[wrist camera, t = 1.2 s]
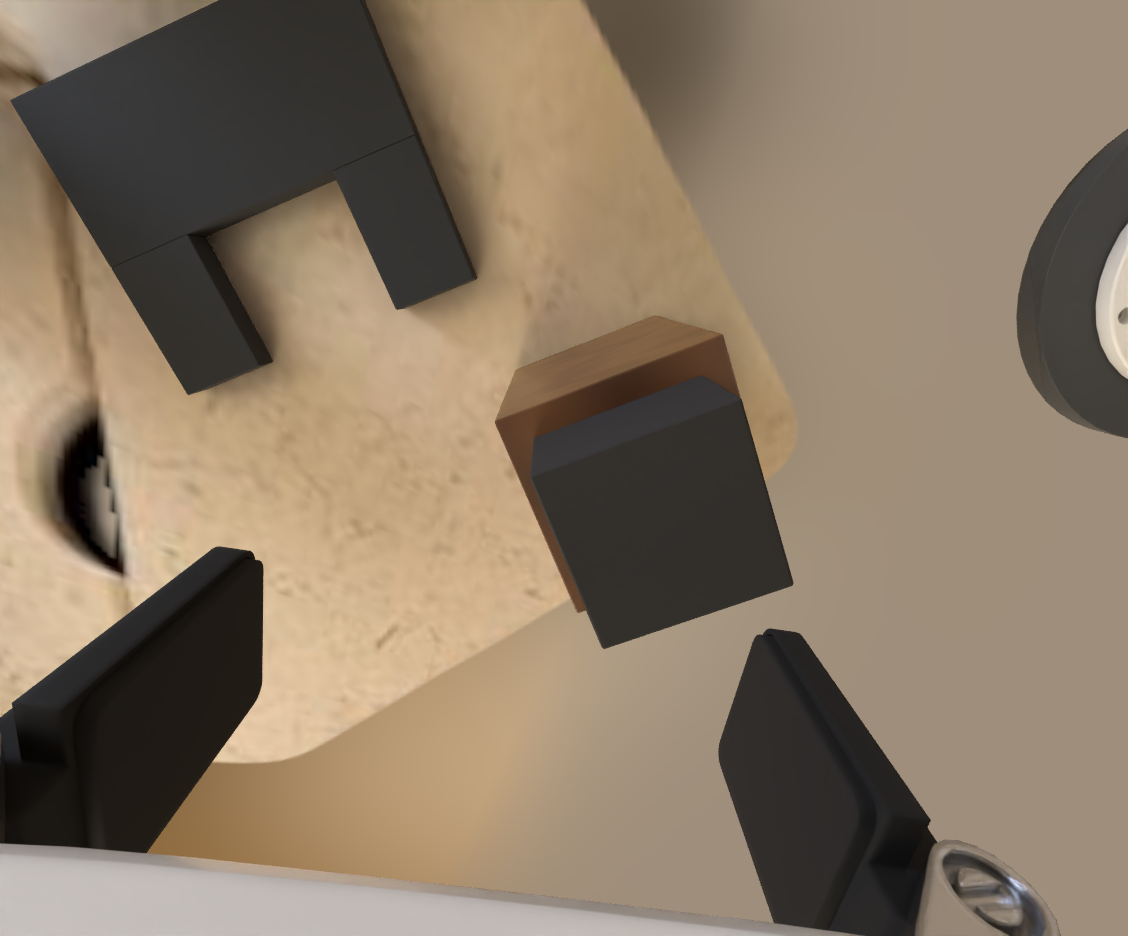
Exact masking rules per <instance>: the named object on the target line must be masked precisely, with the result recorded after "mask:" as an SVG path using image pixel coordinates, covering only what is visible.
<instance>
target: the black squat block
mask: <svg viewBox="0 0 1128 936" xmlns="http://www.w3.org/2000/svg"><path fill="white" fill-rule="evenodd" d="M530 480H531V482H532V484H533V487H534V489H535V491H536V494H537V496H538V498H539V501H540V503H541V506H542V508H543V510H544V513H545V515H546V517H547V520H548V522H549V524H550V527H551V529H552V531H553V534H554V536H555V538H556V541H557V543H558V545H559V548H560V550H561V553H562V555H563V557H564V560H565V562H566V564H567V567H568V569H569V571H570V574H571V576H572V578H573V581H574V583H575V585H576V588H577V590H578V593H579V595H580V597H581V600H582V602H583V604H584V607H585V609H586V611H587V614H588V616H589V618H590V621H591V623H592V625H593V628H594V630H595V632H596V635H597V637H598V640H599V642H600V644H601V646H602V648H603V649H605V648H609V647H611V646H615V645H618V644H621V643H624V642H627V641H629V640H632V639H635V638H638V637H641V636H644V635H647V634H650V633H653V632H656V631H659V630H662V629H665V628H668V627H671V626H674V625H677V624H680V623H683V622H686V621H689V620H692V619H695V618H698V617H701V616H704V615H707V614H710V613H713V612H716V611H719V610H722V609H725V608H728V607H731V606H733V605H736V604H739V603H742V602H745V601H748V600H751V599H754V598H757V597H760V596H763V595H766V594H769V593H772V592H775V591H778V590H781V589H784V588H787V587H790V586H792V585H793V579H792V576H791V572H790V569H789V565H788V562H787V558H786V555H785V551H784V548H783V544H782V541H781V537H780V534H779V530H778V527H777V523H776V520H775V516H774V512H773V509H772V505H771V502H770V498H769V495H768V491H767V488H766V484H765V480H764V477H763V473H762V470H761V466H760V463H759V459H758V456H757V452H756V448H755V445H754V441H753V438H752V434H751V431H750V427H749V424H748V420H747V417H746V413H745V410H744V406H743V402H742V399H741V398H740V397H738V396H736V395H734V394H733V393H731V392H729V391H728V390H726V389H724V388H723V387H721V386H719V385H717V384H716V383H714V382H712V381H711V380H709V379H707V378H706V377H704V376H698V377H695V378H692V379H690V380H687V381H684V382H682V383H679V384H676V385H674V386H671V387H668V388H666V389H663V390H660V391H658V392H655V393H652V394H650V395H647V396H644V397H642V398H639V399H637V400H634V401H631V402H629V403H626V404H623V405H621V406H618V407H615V408H613V409H610V410H607V411H605V412H602V413H599V414H597V415H594V416H591V417H589V418H586V419H583V420H581V421H578V422H575V423H573V424H570V425H568V426H565V427H562V428H560V429H557V430H554V431H552V432H549V433H546V434H544V435H541V436H538V437H536V438H534V441H533V451H532V460H531V470H530Z"/></svg>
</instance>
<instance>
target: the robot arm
mask: <svg viewBox="0 0 1128 936" xmlns="http://www.w3.org/2000/svg"><path fill="white" fill-rule="evenodd" d="M1096 327H1097V331H1098V335H1099V339H1100V344H1101V346H1102V348H1103V350H1104V352H1105V354H1106V356H1107V358H1108V360H1109V362H1110V363H1111V364H1112V365H1113V366H1114V367H1115V368H1116V370H1117V371H1118V372H1119V373H1120V374H1121V375H1122V376H1124V377H1125V378H1127V379H1128V223H1127V225H1126V226H1125V228H1124V229H1123V230H1122V232H1121V233H1120V235H1119V237H1118V239H1117V241H1116V242H1115V244H1114V246H1113V248H1112V250H1111V252H1110V254H1109V256H1108V258H1107V261H1106V264H1105V267H1104V270H1103V272H1102V275H1101V278H1100V281H1099V287H1098V293H1097V299H1096ZM262 655H263V564H262V562H261V561H259V560H255V557H254V554H253V553H252V552H251V551H247V550H240V549H233V548H227V547H215V548H213V549H212V550H210V551H209V552H208V553H207V554H205V555H204V556H203V557H201V558H200V559H199V560H197V561H196V562H195V563H193V564H192V565H191V566H190V567H188V568H187V569H186V570H184V571H183V572H182V573H180V574H179V575H178V576H177V577H175V578H174V579H173V580H171V581H170V582H169V583H167V584H166V585H165V586H164V587H162V588H161V589H160V590H158V591H157V592H156V593H154V594H153V595H152V596H151V597H149V598H148V599H147V600H145V601H144V602H143V603H141V604H140V605H139V606H138V607H136V608H135V609H134V610H132V611H131V612H130V613H128V614H127V615H126V616H125V617H123V618H122V619H121V620H119V621H118V622H117V623H115V624H114V625H113V626H112V627H110V628H109V629H108V630H106V631H105V632H104V633H102V634H101V635H100V636H98V637H97V638H96V639H95V640H93V641H92V642H91V643H89V644H88V645H87V646H85V647H84V648H83V649H82V650H80V651H79V652H78V653H76V654H75V655H74V656H72V657H71V658H70V659H69V660H67V661H66V662H65V663H63V664H62V665H61V666H59V667H58V668H57V669H56V670H54V671H53V672H52V673H50V674H49V675H48V676H46V677H45V678H44V679H43V680H41V681H40V682H39V683H37V684H36V685H35V686H33V687H32V688H31V689H30V690H28V691H27V692H26V693H24V694H23V695H22V696H20V697H19V698H18V699H16V700H15V701H14V702H13V703H12V707H13V708H12V709H11V710H9V711H8V712H7V713H5V714H4V715H3V716H2V717H0V936H1061V934H1060V931H1059V927H1058V924H1057V920H1056V919H1055V917H1054V915H1053V913H1052V912H1051V910H1050V909H1049V907H1048V905H1047V903H1046V902H1045V901H1044V899H1043V898H1042V897H1041V896H1040V895H1039V894H1038V892H1037V891H1036V890H1035V889H1034V888H1033V887H1032V886H1031V884H1030V883H1028V882H1027V881H1026V880H1025V879H1024V878H1023V877H1022V876H1021V875H1019V874H1018V873H1017V872H1016V871H1015V870H1014V869H1013V868H1011V867H1010V866H1008V865H1007V864H1005V863H1004V862H1003V861H1001V860H1000V859H998V858H997V857H995V856H994V855H992V854H990V853H988V852H986V851H984V850H982V849H980V848H978V847H976V846H974V845H971V844H968V843H965V842H961V841H957V840H943V841H940V842H938V843H937V841H936V840H935V838H934V837H933V835H932V834H931V832H930V831H929V829H928V828H927V827H928V825H929V823H930V821H931V820H930V818H929V817H928V816H927V814H926V813H925V811H924V810H923V808H922V807H921V806H920V804H919V803H918V801H917V800H916V798H915V797H914V796H913V794H912V793H911V791H910V790H909V789H908V787H907V785H906V784H905V783H904V781H903V780H902V778H901V777H900V775H899V774H898V773H897V771H896V770H895V768H894V767H893V765H892V764H891V763H890V761H889V760H888V758H887V757H886V755H885V754H884V753H883V751H882V750H881V748H880V747H879V745H878V744H877V743H876V741H875V740H874V738H873V737H872V735H871V734H870V733H869V731H868V730H867V728H866V727H865V725H864V724H863V722H862V721H861V720H860V718H859V717H858V715H857V714H856V712H855V711H854V710H853V708H852V707H851V705H850V704H849V702H848V701H847V700H846V698H845V697H844V695H843V694H842V693H841V691H840V690H839V688H838V687H837V685H836V684H835V682H834V681H833V680H832V678H831V677H830V675H829V674H828V672H827V671H826V670H825V668H824V667H823V665H822V664H821V662H820V661H819V660H818V658H817V657H816V655H815V654H814V652H813V651H812V649H811V648H810V647H809V645H808V644H807V642H806V641H805V639H804V638H803V637H802V636H801V635H800V634H799V633H796V632H791V631H784V630H776V629H767V630H766V631H765V632H764V633H763V635H757V636H756V637H755V639H754V641H753V643H752V646H751V649H750V653H749V655H748V658H747V662H746V664H745V667H744V671H743V673H742V676H741V680H740V682H739V685H738V688H737V692H736V695H735V698H734V701H733V704H732V707H731V710H730V713H729V716H728V719H727V722H726V725H725V728H724V731H723V734H722V737H721V740H720V743H719V762H720V766H721V769H722V772H723V775H724V778H725V780H726V783H727V786H728V789H729V792H730V795H731V798H732V801H733V804H734V807H735V810H736V813H737V815H738V819H739V821H740V824H741V827H742V830H743V833H744V836H745V839H746V842H747V845H748V848H749V851H750V854H751V857H752V860H753V863H754V865H755V869H756V872H757V874H758V877H759V880H760V883H761V886H762V889H763V892H764V895H765V898H766V901H767V904H768V906H769V910H770V912H771V916H772V918H773V922H774V923H769V922H762V921H754V920H745V919H737V918H728V917H719V916H711V915H703V914H695V913H687V912H677V911H669V910H661V909H653V908H645V907H636V906H628V905H619V904H611V903H602V902H594V901H585V900H576V899H568V898H558V897H550V896H541V895H533V894H524V893H515V892H506V891H498V890H489V889H480V888H471V887H461V886H452V885H444V884H435V883H426V882H417V881H408V880H399V879H390V878H381V877H371V876H362V875H353V874H343V873H334V872H325V871H315V870H306V869H296V868H286V867H278V866H268V865H258V864H249V863H240V862H231V861H221V860H212V859H202V858H192V857H181V856H169V855H158V854H147V852H148V850H149V849H150V847H151V846H152V845H153V843H154V842H155V840H156V839H157V838H158V836H159V835H160V834H161V832H162V831H163V829H164V828H165V827H166V825H167V824H168V822H169V821H170V820H171V818H172V817H173V816H174V814H175V813H176V811H177V810H178V809H179V807H180V806H181V804H182V803H183V801H184V800H185V799H186V798H187V796H188V795H189V793H190V792H191V791H192V789H193V788H194V786H195V785H196V784H197V782H198V781H199V779H200V778H201V777H202V775H203V774H204V773H205V771H206V770H207V768H208V767H209V766H210V764H211V763H212V761H213V760H214V759H215V757H216V756H217V755H218V753H219V752H220V750H221V749H222V748H223V746H224V745H225V743H226V742H227V741H228V739H229V738H230V737H231V735H232V734H233V732H234V731H235V730H236V728H237V727H238V725H239V724H240V723H241V721H242V720H243V719H244V717H245V716H246V714H247V713H248V712H249V710H250V709H251V707H252V706H253V705H254V703H255V701H256V700H257V698H258V696H259V693H260V690H261V686H262Z"/></svg>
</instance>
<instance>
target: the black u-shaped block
mask: <svg viewBox="0 0 1128 936" xmlns="http://www.w3.org/2000/svg"><path fill="white" fill-rule="evenodd" d="M10 101H11V103H12V105H13V106H14V108H15V109H16V111H17V113H18V114H19V116H20V118H21V119H22V121H23V123H24V124H25V126H26V128H27V129H28V131H29V133H30V134H31V136H32V138H33V139H34V141H35V143H36V144H37V146H38V148H39V149H40V151H41V153H42V154H43V156H44V158H45V159H46V161H47V163H48V164H49V166H50V167H51V169H52V171H53V172H54V174H55V176H56V177H57V179H58V181H59V182H60V184H61V186H62V187H63V189H64V191H65V192H66V194H67V196H68V197H69V199H70V201H71V202H72V204H73V206H74V207H75V209H76V211H77V212H78V214H79V216H80V217H81V219H82V221H83V222H84V224H85V225H86V227H87V229H88V230H89V232H90V234H91V235H92V237H93V239H94V240H95V242H96V244H97V245H98V247H99V249H100V250H101V252H102V254H103V255H104V257H105V259H106V260H107V262H108V264H109V265H110V267H112V270H113V272H114V273H115V275H116V277H117V278H118V280H119V282H120V283H121V285H122V287H123V288H124V290H125V292H126V293H127V295H128V297H129V298H130V300H131V302H132V303H133V305H134V307H135V308H136V310H137V312H138V313H139V315H140V317H141V318H142V320H143V322H144V323H145V325H146V326H147V328H148V330H149V331H150V333H151V335H152V336H153V338H154V340H155V341H156V343H157V345H158V346H159V348H160V350H161V351H162V353H163V355H164V356H165V358H166V360H167V361H168V363H169V365H170V366H171V368H172V370H173V371H174V373H175V375H176V376H177V378H178V380H179V381H180V383H181V384H182V386H183V388H184V389H185V391H186V393H187V394H188V395H190V394H193V393H197V392H200V391H203V390H206V389H209V388H211V387H214V386H216V385H218V384H221V383H223V382H226V381H228V380H231V379H233V378H236V377H238V376H241V375H243V374H245V373H248V372H250V371H253V370H255V369H258V368H260V367H263V366H265V365H267V364H270V363H272V362H273V360H272V359H271V357H270V355H269V353H268V351H267V349H266V347H265V346H264V344H263V342H262V340H261V338H260V336H259V335H258V333H257V331H256V329H255V327H254V325H253V324H252V322H251V320H250V318H249V316H248V314H247V313H246V311H245V309H244V307H243V305H242V303H241V301H240V300H239V298H238V296H237V294H236V292H235V290H234V289H233V287H232V285H231V283H230V281H229V279H228V278H227V276H226V274H225V272H224V270H223V268H222V267H221V265H220V263H219V261H218V259H217V257H216V255H215V254H214V252H213V250H212V248H211V246H210V244H209V243H208V241H207V239H206V236H208V235H210V234H212V233H215V232H217V231H219V230H222V229H224V228H226V227H228V226H231V225H233V224H235V223H238V222H240V221H242V220H245V219H247V218H249V217H251V216H254V215H256V214H258V213H261V212H263V211H265V210H267V209H270V208H272V207H274V206H277V205H279V204H281V203H283V202H286V201H288V200H290V199H293V198H295V197H297V196H300V195H302V194H304V193H306V192H309V191H311V190H313V189H316V188H318V187H320V186H322V185H325V184H327V183H329V182H332V181H334V180H337V182H338V184H339V186H340V189H341V191H342V193H343V195H344V197H345V199H346V202H347V204H348V206H349V208H350V210H351V212H352V215H353V217H354V219H355V221H356V223H357V225H358V228H359V230H360V232H361V234H362V236H363V239H364V241H365V243H366V245H367V247H368V249H369V252H370V254H371V256H372V258H373V260H374V262H375V265H376V267H377V269H378V271H379V273H380V276H381V278H382V280H383V282H384V284H385V286H386V289H387V291H388V293H389V295H390V297H391V299H392V302H393V304H394V306H395V308H396V310H398V309H405V308H407V307H409V306H412V305H414V304H417V303H419V302H422V301H424V300H427V299H429V298H432V297H434V296H436V295H439V294H441V293H444V292H446V291H449V290H451V289H454V288H456V287H458V286H461V285H463V284H466V283H468V282H471V281H473V280H476V279H477V275H476V273H475V271H474V268H473V266H472V263H471V261H470V258H469V256H468V253H467V251H466V248H465V246H464V244H463V241H462V239H461V236H460V234H459V231H458V229H457V226H456V224H455V221H454V219H453V217H452V214H451V212H450V209H449V207H448V204H447V202H446V199H445V197H444V194H443V192H442V190H441V187H440V185H439V182H438V180H437V177H436V175H435V172H434V170H433V167H432V165H431V163H430V160H429V158H428V155H427V153H426V150H425V148H424V145H423V143H422V140H421V138H420V135H419V133H418V131H417V128H416V126H415V123H414V121H413V118H412V116H411V113H410V111H409V108H408V106H407V104H406V101H405V99H404V96H403V94H402V91H401V89H400V86H399V84H398V81H397V79H396V77H395V74H394V72H393V69H392V67H391V64H390V62H389V59H388V57H387V54H386V52H385V50H384V47H383V45H382V42H381V40H380V37H379V35H378V32H377V30H376V27H375V25H374V23H373V20H372V18H371V15H370V13H369V10H368V8H367V5H366V3H365V0H219V1H217V2H214V3H212V4H210V5H208V6H206V7H204V8H202V9H200V10H198V11H196V12H194V13H191V14H189V15H187V16H185V17H183V18H181V19H179V20H177V21H175V22H173V23H171V24H168V25H166V26H164V27H162V28H160V29H158V30H156V31H154V32H152V33H150V34H148V35H145V36H143V37H141V38H139V39H137V40H135V41H133V42H131V43H129V44H127V45H125V46H122V47H120V48H118V49H116V50H114V51H112V52H110V53H108V54H106V55H104V56H102V57H99V58H97V59H95V60H93V61H91V62H89V63H87V64H85V65H83V66H81V67H79V68H77V69H74V70H72V71H70V72H68V73H66V74H64V75H62V76H60V77H58V78H56V79H54V80H51V81H49V82H47V83H45V84H43V85H41V86H39V87H37V88H35V89H33V90H31V91H28V92H26V93H24V94H22V95H20V96H18V97H16V98H14V99H12V100H10Z"/></svg>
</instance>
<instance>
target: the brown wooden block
mask: <svg viewBox="0 0 1128 936" xmlns="http://www.w3.org/2000/svg"><path fill="white" fill-rule="evenodd" d="M698 376H704V377H706V378H707V379H709V380H711V381H712V382H714V383H716V384H717V385H719V386H721V387H723V388H724V389H726V390H728V391H729V392H731V393H733V394H734V395H736V396H738V397H740V394H739V390H738V387H737V383H736V380H735V376H734V373H733V369H732V366H731V362H730V359H729V355H728V352H727V348H726V344H725V341H724V337H723V335H722V334H719V333H715V332H711V331H708V330H704V329H701V328H697V327H694V326H690V325H687V324H683V323H680V322H676V321H673V320H669V319H665V318H662V317H658V316H653V317H650V318H648V319H645V320H643V321H640V322H637V323H635V324H632V325H630V326H627V327H625V328H622V329H619V330H617V331H614V332H612V333H609V334H607V335H604V336H602V337H599V338H596V339H594V340H591V341H589V342H586V343H584V344H581V345H578V346H576V347H573V348H571V349H568V350H566V351H563V352H560V353H558V354H555V355H553V356H550V357H548V358H545V359H543V360H540V361H537V362H535V363H532V364H530V365H527V366H525V367H522V368H519V369H517V370H516V371H515V373H514V375H513V378H512V380H511V383H510V385H509V388H508V390H507V393H506V395H505V398H504V400H503V403H502V405H501V407H500V410H499V412H498V415H497V417H496V420H495V424H496V426H497V429H498V431H499V433H500V436H501V438H502V440H503V443H504V445H505V447H506V450H507V452H508V454H509V457H510V459H511V461H512V464H513V466H514V468H515V470H516V473H517V475H518V477H519V480H520V482H521V484H522V487H523V489H524V491H525V494H526V496H527V498H528V501H529V503H530V505H531V507H532V510H533V512H534V514H535V517H536V519H537V521H538V524H539V526H540V528H541V531H542V533H543V535H544V538H545V540H546V542H547V545H548V547H549V549H550V551H551V554H552V556H553V558H554V561H555V563H556V565H557V568H558V570H559V572H560V575H561V577H562V579H563V582H564V584H565V586H566V589H567V591H568V593H569V595H570V598H571V600H572V602H573V605H574V607H575V609H576V612H577V613H580V612H583V611H585V610H586V609H585V607H584V604H583V602H582V600H581V597H580V595H579V593H578V590H577V588H576V585H575V583H574V581H573V578H572V576H571V574H570V571H569V569H568V567H567V564H566V562H565V560H564V557H563V555H562V553H561V550H560V548H559V545H558V543H557V541H556V538H555V536H554V534H553V531H552V529H551V527H550V524H549V522H548V520H547V517H546V515H545V513H544V510H543V508H542V506H541V503H540V501H539V498H538V496H537V494H536V491H535V489H534V487H533V484H532V482H531V480H530V470H531V460H532V451H533V441H534V438H536V437H538V436H541V435H544V434H546V433H549V432H552V431H554V430H557V429H560V428H562V427H565V426H568V425H570V424H573V423H575V422H578V421H581V420H583V419H586V418H589V417H591V416H594V415H597V414H599V413H602V412H605V411H607V410H610V409H613V408H615V407H618V406H621V405H623V404H626V403H629V402H631V401H634V400H637V399H639V398H642V397H644V396H647V395H650V394H652V393H655V392H658V391H660V390H663V389H666V388H668V387H671V386H674V385H676V384H679V383H682V382H684V381H687V380H690V379H692V378H695V377H698Z"/></svg>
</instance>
